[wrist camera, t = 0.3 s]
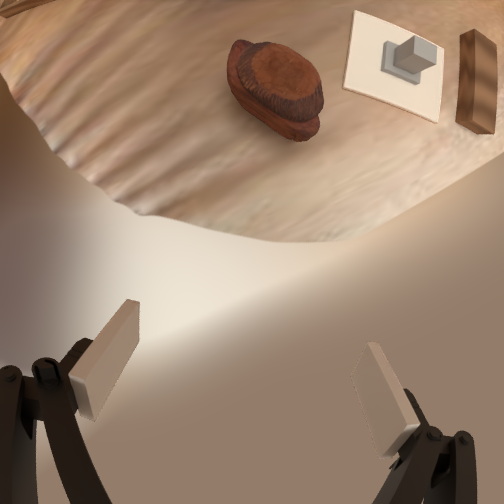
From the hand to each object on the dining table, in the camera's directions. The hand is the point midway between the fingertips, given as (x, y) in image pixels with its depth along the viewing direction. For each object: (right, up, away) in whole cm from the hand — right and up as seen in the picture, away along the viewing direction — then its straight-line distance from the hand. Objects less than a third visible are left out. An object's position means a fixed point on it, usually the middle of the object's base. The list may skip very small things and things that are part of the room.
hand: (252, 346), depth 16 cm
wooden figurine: (+3, +25, +21) cm, 33 cm away
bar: (+37, +34, +17) cm, 53 cm away
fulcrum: (+22, +33, +18) cm, 43 cm away
